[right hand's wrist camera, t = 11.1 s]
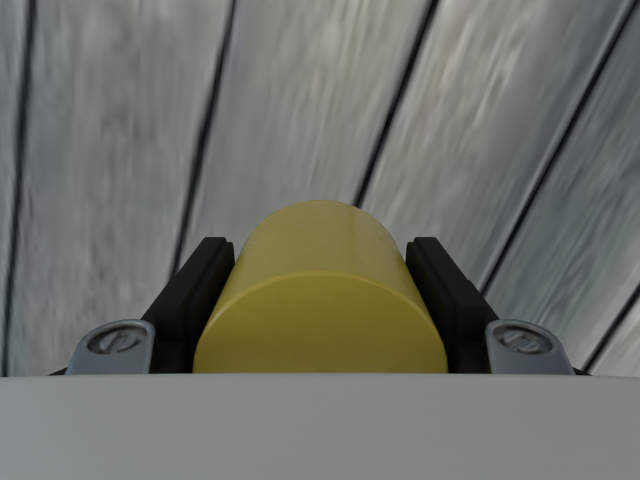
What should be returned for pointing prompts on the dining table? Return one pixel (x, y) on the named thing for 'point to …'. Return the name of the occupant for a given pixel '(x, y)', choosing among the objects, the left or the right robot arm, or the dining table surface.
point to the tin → (320, 301)
